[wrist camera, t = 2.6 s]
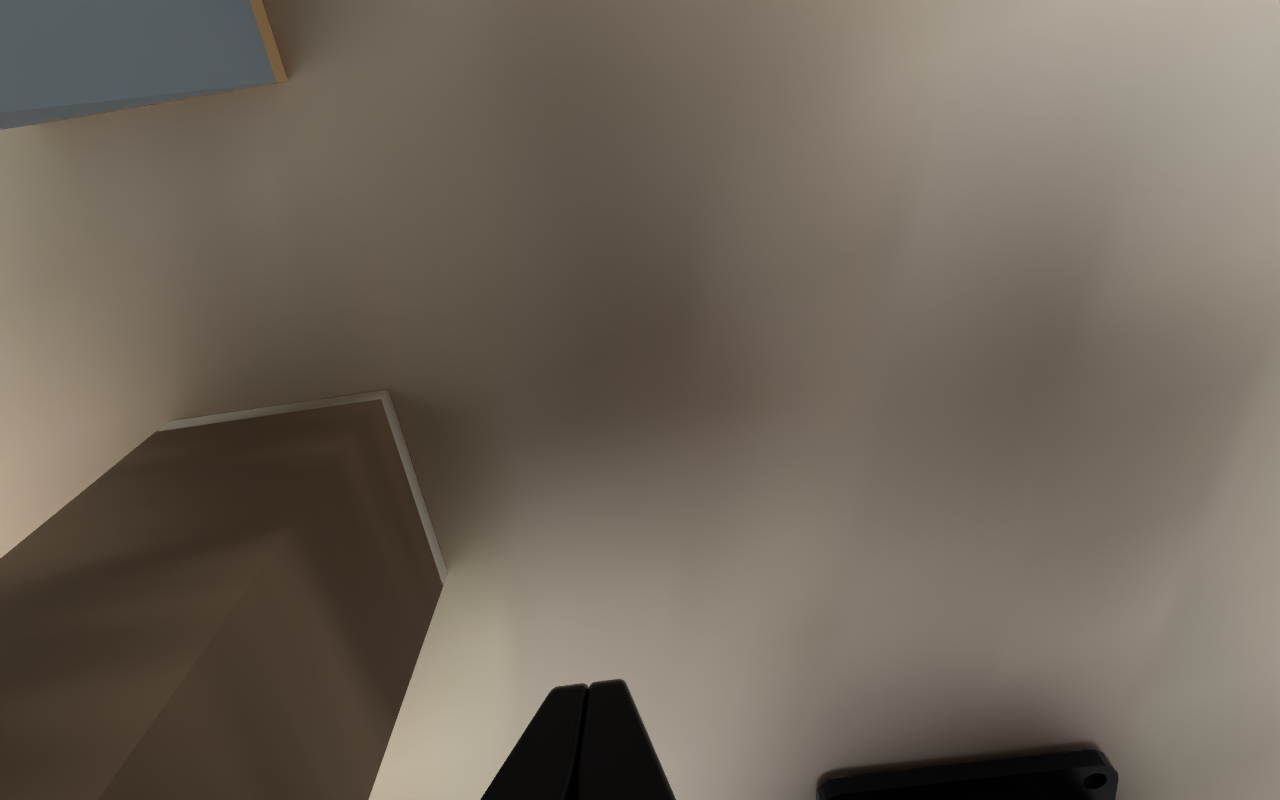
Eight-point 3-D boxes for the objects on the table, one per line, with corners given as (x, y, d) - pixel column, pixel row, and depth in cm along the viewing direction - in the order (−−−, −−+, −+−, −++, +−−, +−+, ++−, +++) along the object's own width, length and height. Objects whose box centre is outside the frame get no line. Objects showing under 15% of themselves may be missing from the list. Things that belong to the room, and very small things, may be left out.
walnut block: (387, 389, 13) (92, 809, 6) (448, 573, 15) (273, 1073, 8) (168, 420, 13) (-373, 862, 6) (251, 598, 15) (-98, 1108, 8)
